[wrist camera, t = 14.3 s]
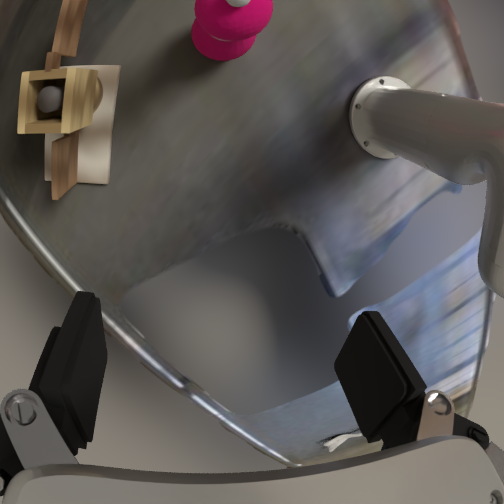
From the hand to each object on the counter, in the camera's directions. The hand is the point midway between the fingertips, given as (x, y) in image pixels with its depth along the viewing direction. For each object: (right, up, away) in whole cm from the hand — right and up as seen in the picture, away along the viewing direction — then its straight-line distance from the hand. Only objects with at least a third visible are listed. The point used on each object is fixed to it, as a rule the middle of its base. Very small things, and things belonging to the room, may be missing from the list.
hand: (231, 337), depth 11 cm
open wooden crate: (-20, +25, +16) cm, 36 cm away
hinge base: (-22, +20, +24) cm, 38 cm away
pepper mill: (-3, +30, +22) cm, 37 cm away
